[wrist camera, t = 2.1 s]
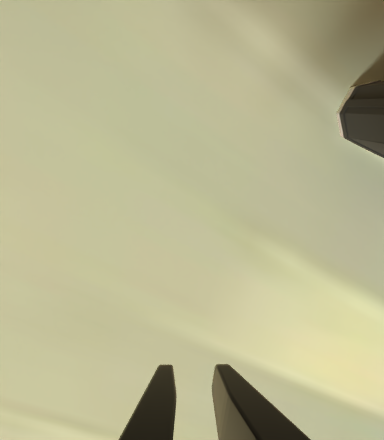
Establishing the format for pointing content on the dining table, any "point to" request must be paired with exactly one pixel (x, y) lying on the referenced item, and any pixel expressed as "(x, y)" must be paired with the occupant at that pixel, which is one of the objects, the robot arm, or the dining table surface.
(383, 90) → the camera
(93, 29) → the dining table surface
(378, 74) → the dining table surface
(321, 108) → the dining table surface
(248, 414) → the robot arm
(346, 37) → the dining table surface
